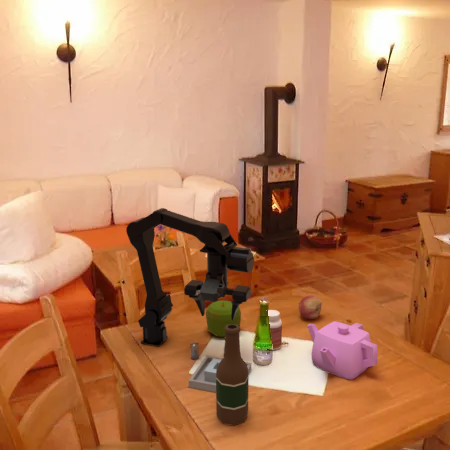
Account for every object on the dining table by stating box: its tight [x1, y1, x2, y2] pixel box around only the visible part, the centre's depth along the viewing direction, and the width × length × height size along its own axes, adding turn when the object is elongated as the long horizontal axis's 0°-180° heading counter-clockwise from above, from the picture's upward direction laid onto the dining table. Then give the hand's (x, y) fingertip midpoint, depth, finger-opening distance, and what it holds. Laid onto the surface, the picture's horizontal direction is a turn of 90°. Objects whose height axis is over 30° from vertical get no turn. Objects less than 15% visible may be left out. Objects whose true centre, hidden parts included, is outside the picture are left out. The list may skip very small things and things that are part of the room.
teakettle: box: [306, 320, 379, 381], centre depth 146 cm, size 17×17×12 cm
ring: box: [204, 358, 221, 383], centre depth 142 cm, size 9×7×3 cm
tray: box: [188, 355, 253, 393], centre depth 141 cm, size 14×14×2 cm
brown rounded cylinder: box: [190, 341, 199, 361], centre depth 152 cm, size 2×2×4 cm
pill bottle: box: [267, 309, 283, 351], centre depth 157 cm, size 6×6×11 cm
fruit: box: [298, 294, 323, 320], centre depth 176 cm, size 8×8×8 cm
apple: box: [205, 300, 242, 338], centre depth 166 cm, size 11×11×11 cm
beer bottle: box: [215, 324, 249, 426], centre depth 122 cm, size 8×8×24 cm
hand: (217, 317), depth 151 cm, fingers open, 9 cm apart
